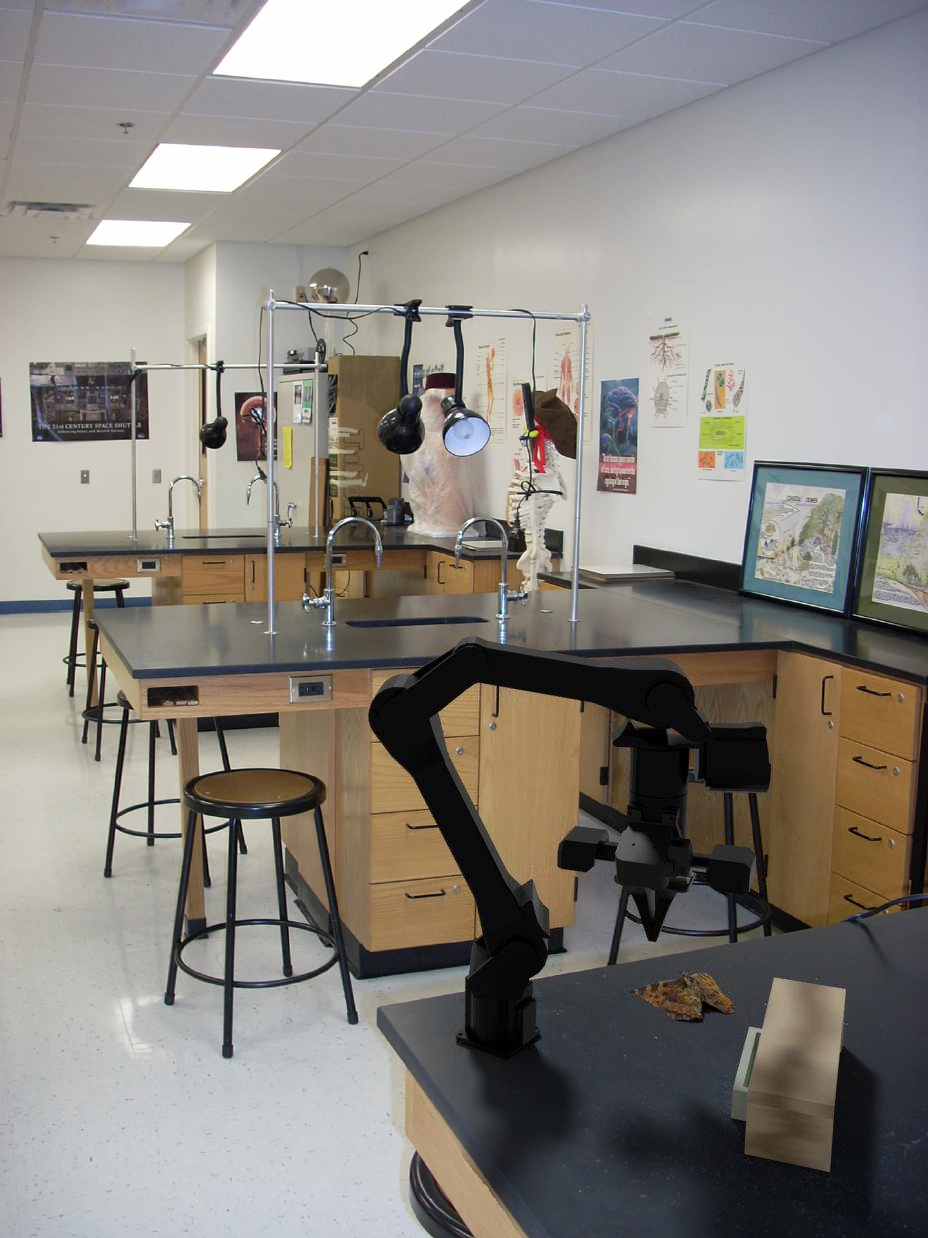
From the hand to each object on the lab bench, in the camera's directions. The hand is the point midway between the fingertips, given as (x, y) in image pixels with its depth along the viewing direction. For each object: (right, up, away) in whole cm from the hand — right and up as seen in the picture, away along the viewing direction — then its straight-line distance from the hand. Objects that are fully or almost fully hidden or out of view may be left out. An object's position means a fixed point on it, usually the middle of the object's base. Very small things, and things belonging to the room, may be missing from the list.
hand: (653, 940), depth 118 cm
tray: (+10, -12, -7) cm, 17 cm away
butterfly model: (+6, -10, +11) cm, 16 cm away
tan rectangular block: (+12, -12, -7) cm, 19 cm away
